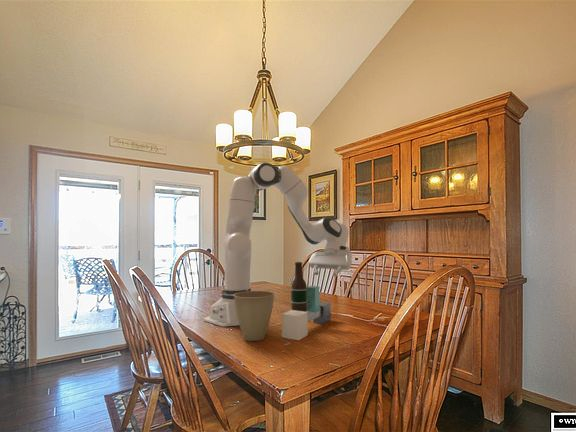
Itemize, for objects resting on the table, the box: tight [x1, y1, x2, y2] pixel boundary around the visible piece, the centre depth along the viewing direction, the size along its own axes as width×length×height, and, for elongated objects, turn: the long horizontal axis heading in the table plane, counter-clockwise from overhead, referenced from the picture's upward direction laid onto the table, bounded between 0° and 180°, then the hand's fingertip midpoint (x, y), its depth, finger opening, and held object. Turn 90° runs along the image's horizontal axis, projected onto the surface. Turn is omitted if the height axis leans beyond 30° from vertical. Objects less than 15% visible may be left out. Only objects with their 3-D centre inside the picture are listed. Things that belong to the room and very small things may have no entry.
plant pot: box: [234, 290, 275, 342], centre depth 117 cm, size 15×15×16 cm
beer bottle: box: [290, 261, 308, 312], centre depth 158 cm, size 8×8×24 cm
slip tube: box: [306, 285, 323, 323], centre depth 132 cm, size 4×22×13 cm, turn 149°
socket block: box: [281, 309, 309, 341], centre depth 118 cm, size 7×7×8 cm
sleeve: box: [312, 301, 332, 325], centre depth 138 cm, size 5×7×8 cm
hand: (325, 274), depth 143 cm, fingers open, 8 cm apart
